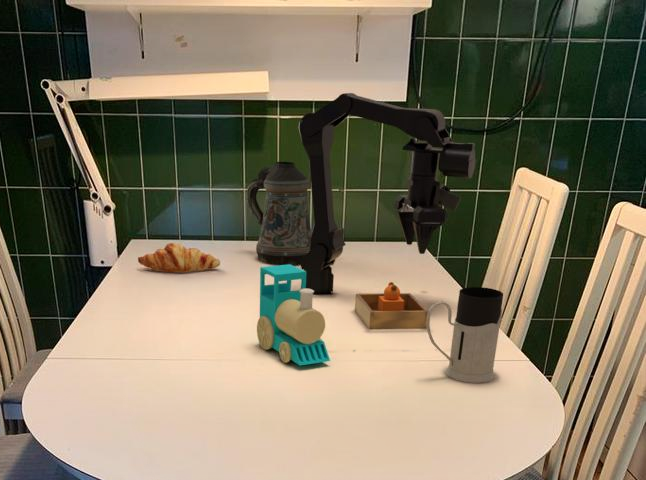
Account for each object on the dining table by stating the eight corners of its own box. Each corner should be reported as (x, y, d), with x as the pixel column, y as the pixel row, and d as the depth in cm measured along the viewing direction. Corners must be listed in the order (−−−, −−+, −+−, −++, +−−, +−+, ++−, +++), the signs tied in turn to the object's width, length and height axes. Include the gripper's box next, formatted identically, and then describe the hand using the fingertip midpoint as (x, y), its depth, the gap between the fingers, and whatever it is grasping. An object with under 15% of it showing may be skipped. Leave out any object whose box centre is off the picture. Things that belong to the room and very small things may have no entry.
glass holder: (503, 380, 147) (516, 297, 140) (431, 386, 143) (441, 302, 136) (479, 364, 154) (491, 284, 147) (410, 370, 150) (418, 288, 143)
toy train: (295, 371, 148) (298, 288, 141) (255, 344, 161) (256, 267, 154) (333, 365, 152) (338, 284, 145) (291, 339, 164) (293, 263, 157)
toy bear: (381, 321, 175) (384, 286, 171) (377, 315, 179) (379, 281, 175) (402, 321, 176) (406, 286, 172) (397, 315, 179) (400, 281, 176)
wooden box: (368, 331, 170) (370, 312, 168) (354, 312, 183) (355, 293, 181) (426, 331, 172) (428, 311, 170) (408, 311, 184) (410, 293, 183)
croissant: (219, 279, 219) (219, 249, 219) (221, 270, 209) (221, 238, 209) (138, 278, 216) (138, 248, 216) (137, 268, 206) (136, 236, 206)
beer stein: (316, 267, 220) (320, 167, 208) (243, 264, 220) (244, 165, 208) (314, 253, 235) (318, 160, 223) (246, 251, 235) (247, 158, 223)
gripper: (475, 181, 167) (464, 258, 175) (444, 168, 184) (436, 240, 191) (422, 180, 166) (414, 258, 173) (396, 168, 182) (390, 240, 189)
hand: (415, 249), depth 182 cm, fingers open, 9 cm apart
